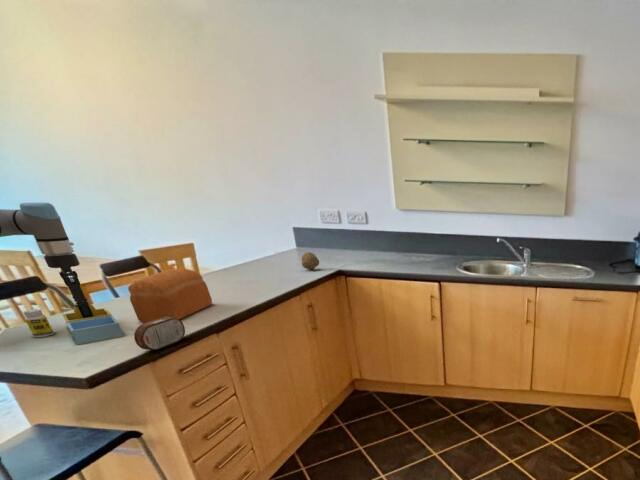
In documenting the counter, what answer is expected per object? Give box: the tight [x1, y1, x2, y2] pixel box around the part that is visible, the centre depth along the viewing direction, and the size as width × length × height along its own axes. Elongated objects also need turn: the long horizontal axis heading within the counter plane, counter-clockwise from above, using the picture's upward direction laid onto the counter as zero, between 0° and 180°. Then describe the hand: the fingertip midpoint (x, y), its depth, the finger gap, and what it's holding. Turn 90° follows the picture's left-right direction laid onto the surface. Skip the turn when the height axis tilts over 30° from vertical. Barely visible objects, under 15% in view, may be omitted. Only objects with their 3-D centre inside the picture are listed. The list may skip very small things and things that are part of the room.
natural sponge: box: [301, 251, 320, 271], centre depth 236 cm, size 9×9×10 cm
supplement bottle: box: [22, 308, 54, 338], centre depth 136 cm, size 5×5×8 cm
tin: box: [133, 317, 186, 351], centre depth 130 cm, size 15×3×8 cm, turn 171°
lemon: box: [73, 302, 98, 319], centre depth 144 cm, size 6×6×8 cm
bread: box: [127, 268, 213, 323], centre depth 159 cm, size 14×26×16 cm, turn 3°
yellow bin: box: [61, 307, 113, 324], centre depth 145 cm, size 11×11×5 cm
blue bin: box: [66, 315, 125, 345], centre depth 137 cm, size 11×11×5 cm
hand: (90, 322), depth 145 cm, fingers open, 6 cm apart
